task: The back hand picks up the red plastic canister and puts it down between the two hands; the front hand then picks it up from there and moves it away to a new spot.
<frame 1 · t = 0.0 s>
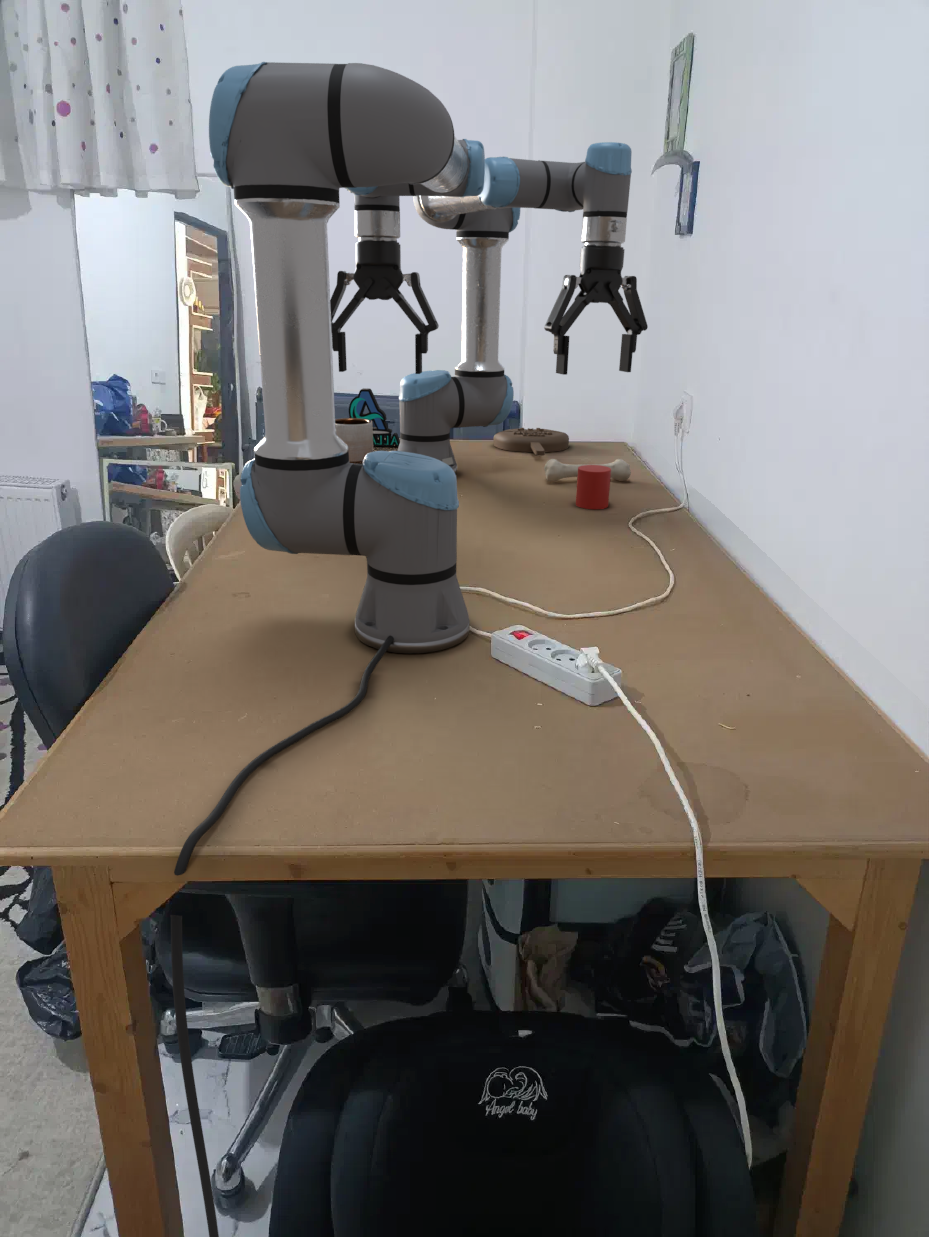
front hand: (380, 372, 149), 28 cm above the table, tool pointing down, fingers open, 13 cm apart
back hand: (593, 372, 154), 28 cm above the table, tool pointing down, fingers open, 13 cm apart
music box: (295, 500, 176), on the table
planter: (352, 460, 214), on the table
canister: (591, 505, 176), on the table
decorative sign: (366, 445, 232), on the table
dog toy: (586, 481, 197), on the table
ice cream bar: (534, 451, 229), on the table
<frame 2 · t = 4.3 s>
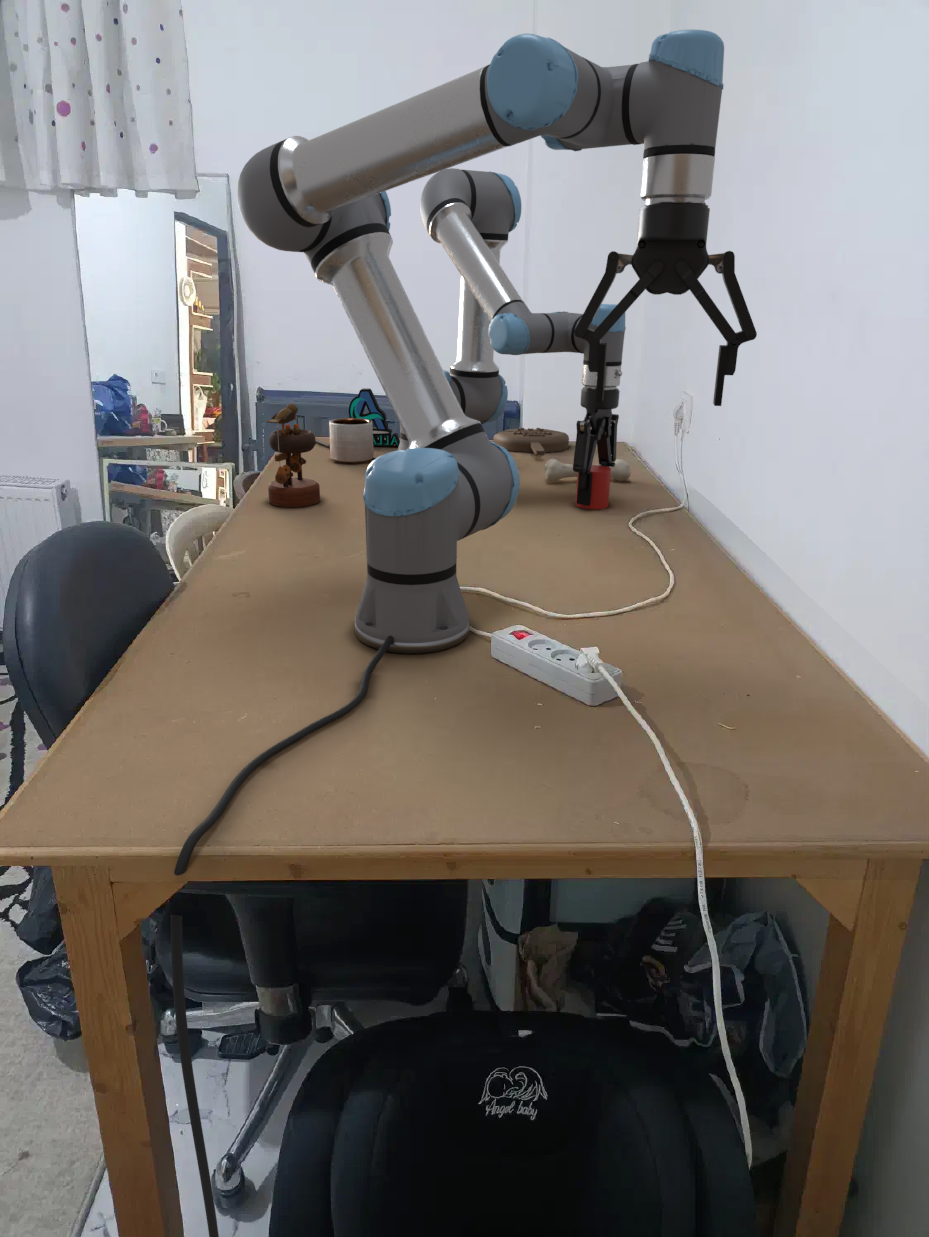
front hand: (657, 403, 100), 31 cm above the table, tool pointing down, fingers open, 13 cm apart
back hand: (592, 500, 176), 1 cm above the table, tool pointing down, fingers closed on canister, 7 cm apart
canister: (591, 505, 176), on the table, touching back hand
everything else where it was.
when the back hand's fingers open (2 cm above the table, at t = 14.4 s): canister drops 1 cm, on the table.
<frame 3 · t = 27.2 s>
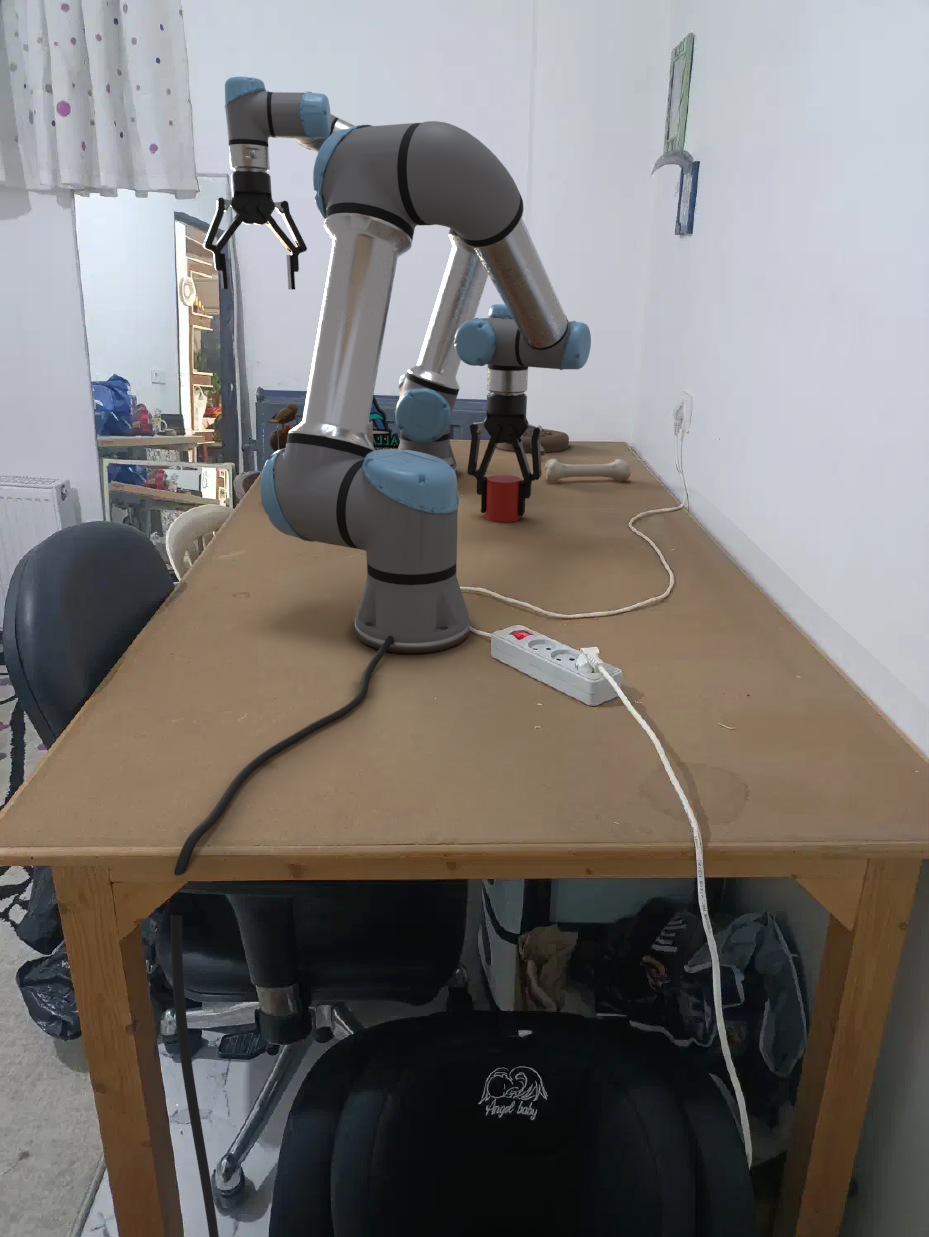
front hand: (503, 512, 166), 1 cm above the table, tool pointing down, fingers closed on canister, 7 cm apart
back hand: (258, 289, 172), 41 cm above the table, tool pointing down, fingers open, 13 cm apart
canister: (502, 517, 166), on the table, touching front hand
everything else where it was.
when the front hand's fingers open (2 cm above the table, at t = 40.3 s): canister drops 1 cm, on the table.
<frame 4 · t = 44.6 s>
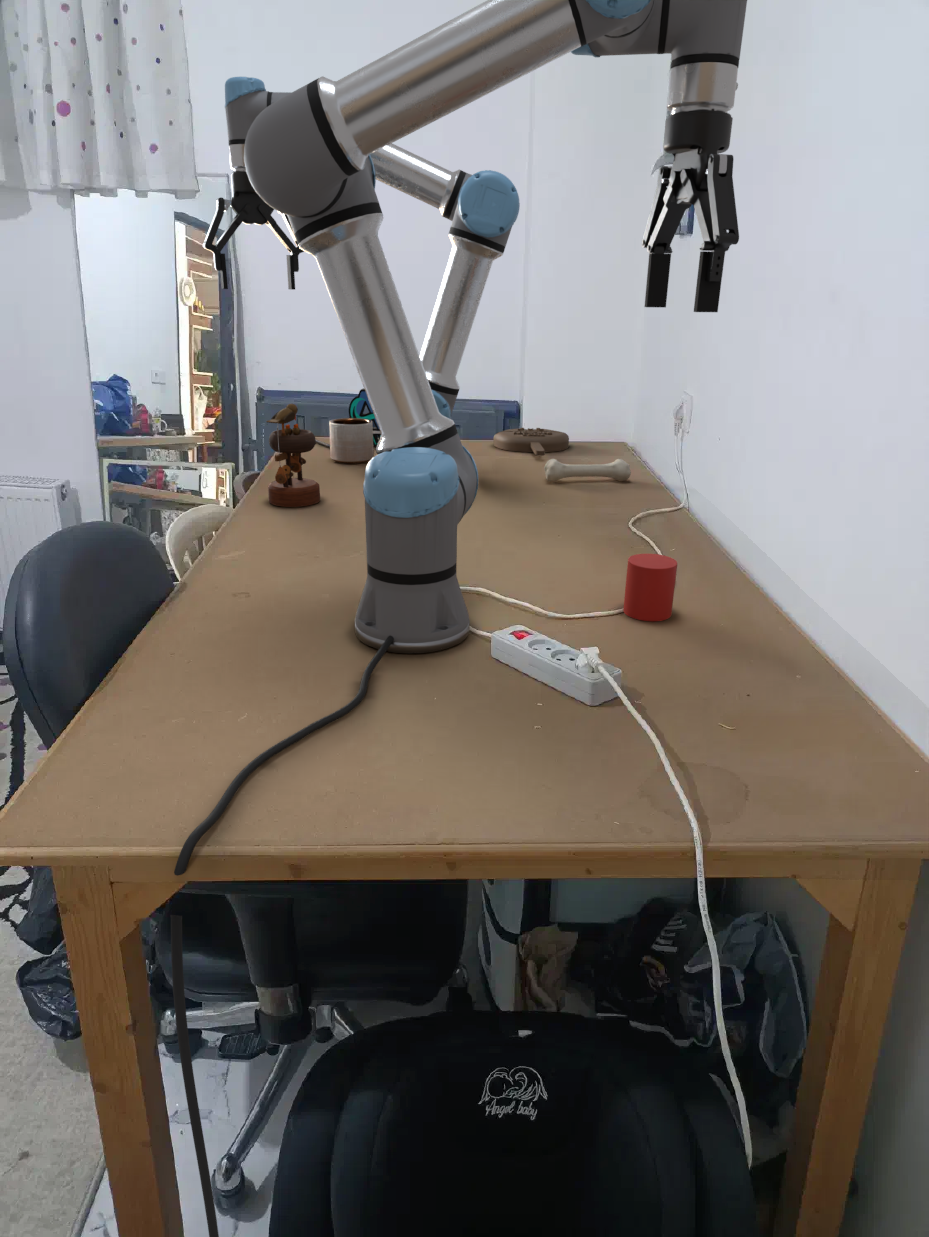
front hand: (678, 310, 105), 41 cm above the table, tool pointing down, fingers open, 13 cm apart
back hand: (258, 289, 172), 41 cm above the table, tool pointing down, fingers open, 13 cm apart
canister: (647, 612, 121), on the table
everything else where it was.
at the end: canister inside the target area (0.1 cm from its centre), on the table; canister tilted 0°; the two hands never held the canister at the same time; the front hand is holding nothing; the back hand is holding nothing; canister at rest at the end (0.0 cm/s) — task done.
